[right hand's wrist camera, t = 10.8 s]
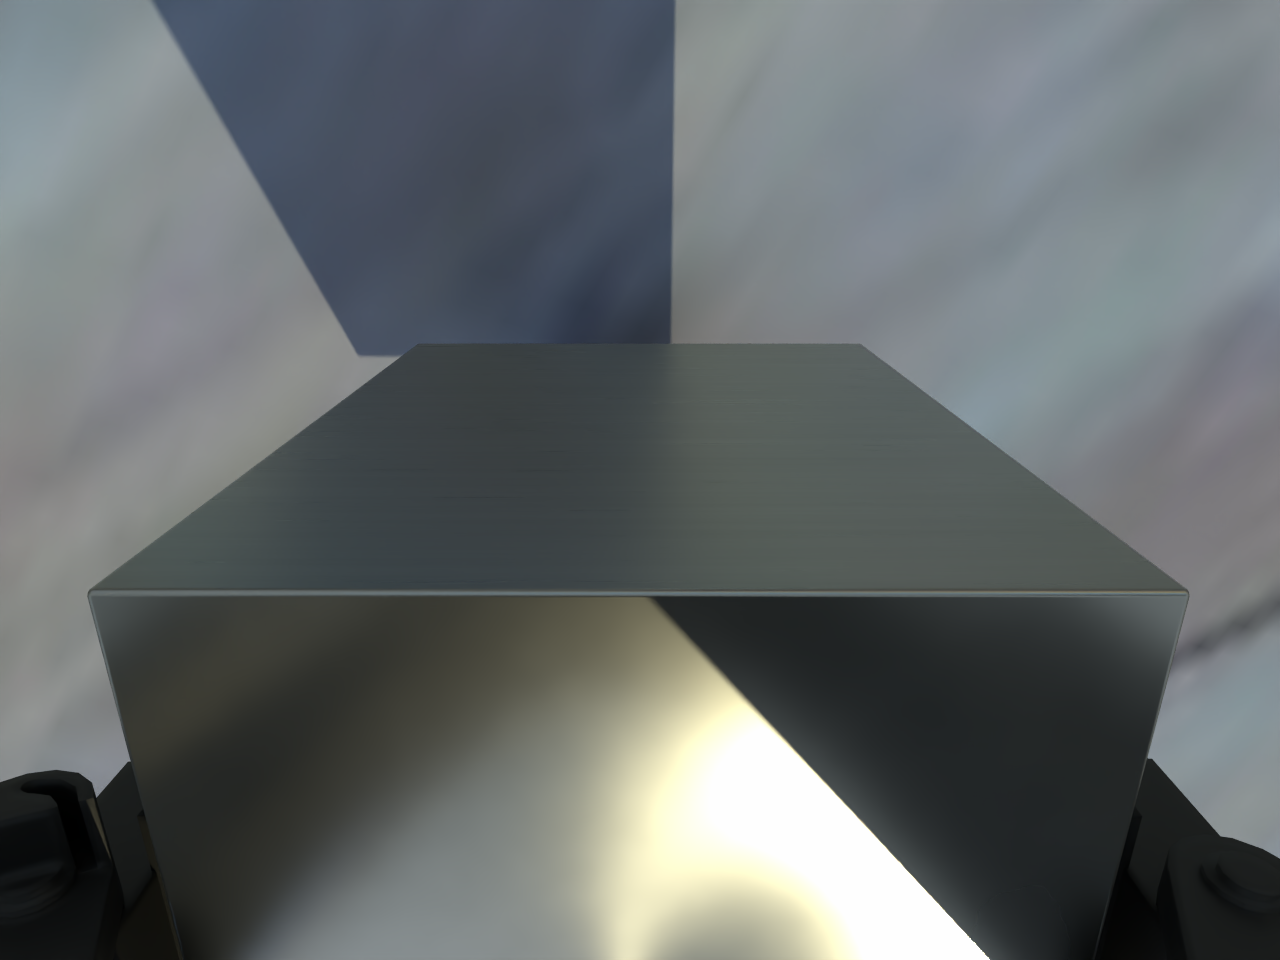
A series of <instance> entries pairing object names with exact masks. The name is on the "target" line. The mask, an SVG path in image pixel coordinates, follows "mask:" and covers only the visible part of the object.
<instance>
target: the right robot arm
mask: <svg viewBox="0 0 1280 960" xmlns="http://www.w3.org/2000/svg"><path fill="white" fill-rule="evenodd" d="M0 960H183V958H182V954H181V950H180V947H179V943H178V939H177V935H176V931H175V927H174V924H173V920H172V916H171V912H170V908H169V905H168V901H167V897H166V893H165V889H164V886H163V882H162V878H161V874H160V870H159V867H158V863H157V859H156V855H155V851H154V848H153V844H152V840H151V836H150V832H149V829H148V825H147V821H146V817H145V813H144V810H143V806H142V802H141V798H140V794H139V791H138V787H137V783H136V779H135V775H134V771H133V768H132V764H131V762H128V763H127V764H126V765H125V766H124V767H123V768H122V769H121V770H120V772H119V773H118V774H117V775H116V776H115V777H114V778H113V780H112V781H111V782H110V783H109V784H108V785H107V786H106V788H105V789H104V790H103V791H102V792H101V793H100V794H99V796H98V797H97V798H96V795H95V792H94V788H93V785H92V782H90V781H89V780H88V779H86V778H85V777H84V776H82V775H81V774H79V773H75V772H68V771H61V770H52V771H44V772H37V773H29V774H25V775H22V776H19V777H15V778H12V779H9V780H6V781H3V782H0ZM1094 960H1280V859H1279V858H1278V857H1276V856H1274V855H1272V854H1271V853H1269V852H1267V851H1265V850H1263V849H1261V848H1258V847H1255V846H1253V845H1250V844H1247V843H1244V842H1241V841H1239V840H1236V839H1233V838H1227V837H1221V836H1220V835H1219V834H1218V833H1217V832H1216V831H1215V830H1214V829H1213V828H1212V826H1211V825H1210V824H1209V823H1208V822H1207V821H1206V820H1205V818H1204V817H1203V816H1202V815H1201V814H1200V813H1199V812H1198V811H1197V809H1196V808H1195V807H1194V806H1193V805H1192V804H1191V803H1190V801H1189V800H1188V799H1187V798H1186V797H1185V796H1184V795H1183V793H1182V792H1181V791H1180V790H1179V789H1178V788H1177V787H1176V786H1175V784H1174V783H1173V782H1172V781H1171V780H1170V779H1169V778H1168V776H1167V775H1166V774H1165V773H1164V772H1163V771H1162V770H1161V769H1160V767H1159V766H1158V765H1157V764H1156V763H1155V762H1154V761H1153V759H1148V758H1147V760H1146V764H1145V768H1144V772H1143V776H1142V780H1141V783H1140V787H1139V791H1138V795H1137V799H1136V803H1135V806H1134V810H1133V814H1132V818H1131V822H1130V826H1129V829H1128V833H1127V837H1126V841H1125V845H1124V848H1123V852H1122V856H1121V860H1120V864H1119V868H1118V871H1117V875H1116V879H1115V883H1114V887H1113V891H1112V894H1111V898H1110V902H1109V906H1108V910H1107V914H1106V917H1105V921H1104V925H1103V929H1102V933H1101V936H1100V940H1099V944H1098V948H1097V952H1096V956H1095V959H1094Z"/></svg>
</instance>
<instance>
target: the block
mask: <svg viewBox="0 0 1280 960" xmlns="http://www.w3.org/2000/svg"><path fill="white" fill-rule="evenodd" d="M88 600H89V604H90V608H91V612H92V615H93V619H94V623H95V627H96V631H97V635H98V638H99V642H100V646H101V650H102V654H103V657H104V661H105V665H106V669H107V673H108V676H109V680H110V684H111V688H112V692H113V695H114V699H115V703H116V707H117V711H118V714H119V718H120V722H121V726H122V730H123V733H124V737H125V741H126V745H127V749H128V752H129V756H130V760H131V764H132V768H133V771H134V775H135V779H136V783H137V787H138V791H139V794H140V798H141V802H142V806H143V810H144V813H145V817H146V821H147V825H148V829H149V832H150V836H151V840H152V844H153V848H154V851H155V855H156V859H157V863H158V867H159V870H160V874H161V878H162V882H163V886H164V889H165V893H166V897H167V901H168V905H169V908H170V912H171V916H172V920H173V924H174V927H175V931H176V935H177V939H178V943H179V947H180V950H181V954H182V958H183V960H1094V959H1095V956H1096V952H1097V948H1098V944H1099V940H1100V936H1101V933H1102V929H1103V925H1104V921H1105V917H1106V914H1107V910H1108V906H1109V902H1110V898H1111V894H1112V891H1113V887H1114V883H1115V879H1116V875H1117V871H1118V868H1119V864H1120V860H1121V856H1122V852H1123V848H1124V845H1125V841H1126V837H1127V833H1128V829H1129V826H1130V822H1131V818H1132V814H1133V810H1134V806H1135V803H1136V799H1137V795H1138V791H1139V787H1140V783H1141V780H1142V776H1143V772H1144V768H1145V764H1146V760H1147V757H1148V753H1149V749H1150V745H1151V741H1152V738H1153V734H1154V730H1155V726H1156V722H1157V718H1158V715H1159V711H1160V707H1161V703H1162V699H1163V695H1164V692H1165V688H1166V684H1167V680H1168V676H1169V672H1170V669H1171V665H1172V661H1173V657H1174V653H1175V650H1176V646H1177V642H1178V638H1179V634H1180V630H1181V627H1182V623H1183V619H1184V615H1185V611H1186V607H1187V604H1188V600H1189V592H1188V590H1187V589H1186V588H1185V587H1183V586H1182V585H1181V584H1179V583H1178V582H1177V581H1175V580H1174V579H1173V578H1171V577H1170V576H1169V575H1167V574H1166V573H1165V572H1163V571H1162V570H1161V569H1159V568H1158V567H1157V566H1155V565H1154V564H1153V563H1151V562H1150V561H1149V560H1147V559H1146V558H1145V557H1143V556H1142V555H1141V554H1139V553H1138V552H1137V551H1135V550H1134V549H1133V548H1131V547H1130V546H1129V545H1127V544H1126V543H1125V542H1123V541H1122V540H1121V539H1119V538H1118V537H1117V536H1115V535H1114V534H1113V533H1111V532H1110V531H1109V530H1107V529H1106V528H1105V527H1103V526H1102V525H1101V524H1099V523H1098V522H1097V521H1095V520H1094V519H1093V518H1091V517H1090V516H1089V515H1087V514H1086V513H1085V512H1083V511H1082V510H1081V509H1079V508H1078V507H1077V506H1075V505H1074V504H1073V503H1072V502H1070V501H1069V500H1068V499H1066V498H1065V497H1064V496H1062V495H1061V494H1060V493H1058V492H1057V491H1056V490H1054V489H1053V488H1052V487H1050V486H1049V485H1048V484H1046V483H1045V482H1044V481H1042V480H1041V479H1040V478H1038V477H1037V476H1036V475H1034V474H1033V473H1032V472H1030V471H1029V470H1028V469H1026V468H1025V467H1024V466H1022V465H1021V464H1020V463H1018V462H1017V461H1016V460H1014V459H1013V458H1012V457H1010V456H1009V455H1008V454H1006V453H1005V452H1004V451H1002V450H1001V449H1000V448H998V447H997V446H996V445H994V444H993V443H992V442H990V441H989V440H988V439H986V438H985V437H984V436H982V435H981V434H980V433H978V432H977V431H976V430H974V429H973V428H972V427H970V426H969V425H968V424H966V423H965V422H964V421H962V420H961V419H960V418H958V417H957V416H956V415H954V414H953V413H952V412H950V411H949V410H948V409H946V408H945V407H944V406H942V405H941V404H940V403H938V402H937V401H936V400H934V399H933V398H932V397H930V396H929V395H928V394H926V393H925V392H924V391H922V390H921V389H920V388H919V387H917V386H916V385H915V384H913V383H912V382H911V381H909V380H908V379H907V378H905V377H904V376H903V375H901V374H900V373H899V372H897V371H896V370H895V369H893V368H892V367H891V366H889V365H888V364H887V363H885V362H884V361H883V360H881V359H880V358H879V357H877V356H876V355H875V354H873V353H872V352H871V351H869V350H868V349H867V348H865V347H864V346H863V345H861V344H417V345H416V346H415V347H413V348H412V349H411V350H409V351H408V352H407V353H405V354H404V355H403V356H401V357H400V358H399V359H397V360H396V361H395V362H393V363H392V364H391V365H389V366H388V367H387V368H385V369H384V370H383V371H381V372H380V373H379V374H377V375H376V376H375V377H373V378H372V379H371V380H369V381H368V382H367V383H365V384H364V385H363V386H361V387H360V388H359V389H357V390H356V391H354V392H353V393H352V394H350V395H349V396H348V397H346V398H345V399H344V400H342V401H341V402H340V403H338V404H337V405H336V406H334V407H333V408H332V409H330V410H329V411H328V412H326V413H325V414H324V415H322V416H321V417H320V418H318V419H317V420H316V421H314V422H313V423H312V424H310V425H309V426H308V427H306V428H305V429H304V430H302V431H301V432H300V433H298V434H297V435H296V436H294V437H293V438H292V439H290V440H289V441H288V442H286V443H285V444H284V445H282V446H281V447H280V448H278V449H277V450H276V451H274V452H273V453H272V454H270V455H269V456H268V457H266V458H265V459H264V460H262V461H261V462H260V463H258V464H257V465H256V466H254V467H253V468H252V469H250V470H249V471H248V472H246V473H245V474H243V475H242V476H241V477H239V478H238V479H237V480H235V481H234V482H233V483H231V484H230V485H229V486H227V487H226V488H225V489H223V490H222V491H221V492H219V493H218V494H217V495H215V496H214V497H213V498H211V499H210V500H209V501H207V502H206V503H205V504H203V505H202V506H201V507H199V508H198V509H197V510H195V511H194V512H193V513H191V514H190V515H189V516H187V517H186V518H185V519H183V520H182V521H181V522H179V523H178V524H177V525H175V526H174V527H173V528H171V529H170V530H169V531H167V532H166V533H165V534H163V535H162V536H161V537H159V538H158V539H157V540H155V541H154V542H153V543H151V544H150V545H149V546H147V547H146V548H145V549H143V550H142V551H141V552H139V553H138V554H137V555H135V556H134V557H133V558H131V559H130V560H128V561H127V562H126V563H124V564H123V565H122V566H120V567H119V568H118V569H116V570H115V571H114V572H112V573H111V574H110V575H108V576H107V577H106V578H104V579H103V580H102V581H100V582H99V583H98V584H96V585H95V586H94V587H92V588H91V589H90V590H89V592H88Z"/></svg>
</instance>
